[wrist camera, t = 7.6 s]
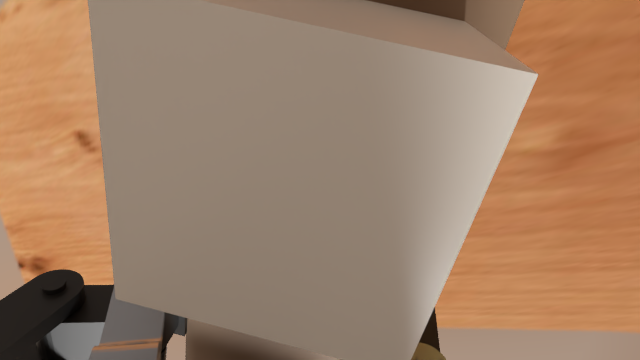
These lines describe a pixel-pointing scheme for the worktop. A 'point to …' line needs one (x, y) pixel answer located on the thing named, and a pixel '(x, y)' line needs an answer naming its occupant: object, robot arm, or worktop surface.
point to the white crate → (297, 162)
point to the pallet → (269, 356)
